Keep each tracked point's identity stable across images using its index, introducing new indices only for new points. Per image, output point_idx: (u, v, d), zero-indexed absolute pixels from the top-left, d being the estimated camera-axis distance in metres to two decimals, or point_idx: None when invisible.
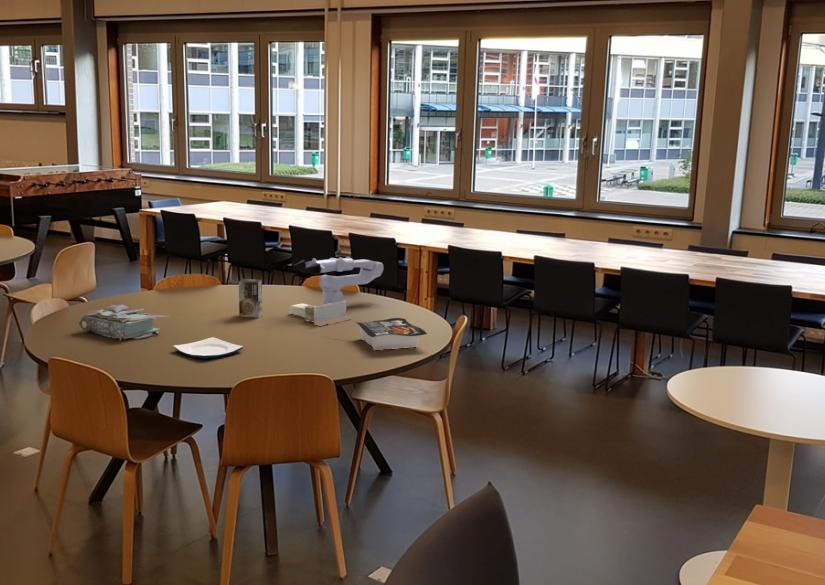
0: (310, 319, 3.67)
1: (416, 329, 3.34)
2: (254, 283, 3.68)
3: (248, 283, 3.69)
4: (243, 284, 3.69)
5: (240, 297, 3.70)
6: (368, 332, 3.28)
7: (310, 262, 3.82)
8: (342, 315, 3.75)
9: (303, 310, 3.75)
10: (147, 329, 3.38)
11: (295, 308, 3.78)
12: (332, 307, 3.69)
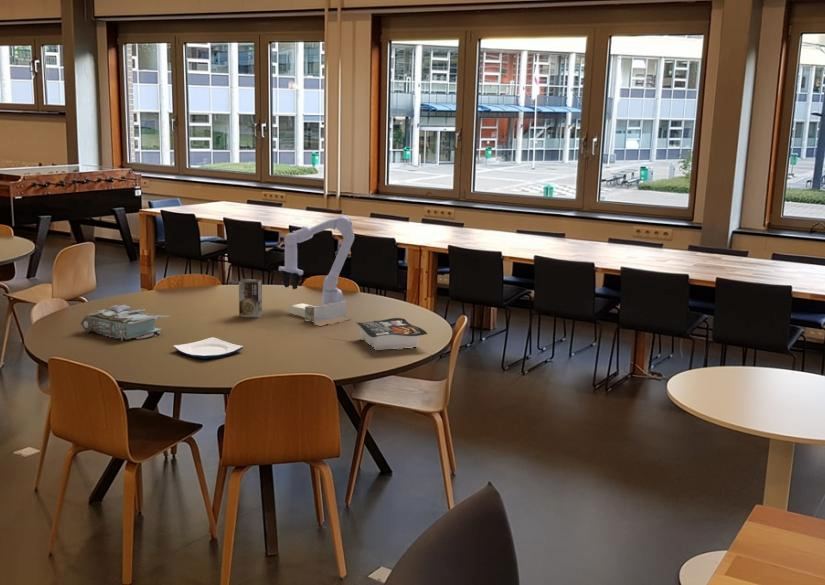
0: (310, 319, 3.67)
1: (416, 329, 3.34)
2: (254, 283, 3.68)
3: (248, 283, 3.69)
4: (243, 284, 3.69)
5: (240, 297, 3.70)
6: (368, 332, 3.28)
7: None
8: (342, 315, 3.75)
9: (303, 310, 3.75)
10: (149, 329, 3.38)
11: (295, 308, 3.78)
12: (332, 307, 3.69)
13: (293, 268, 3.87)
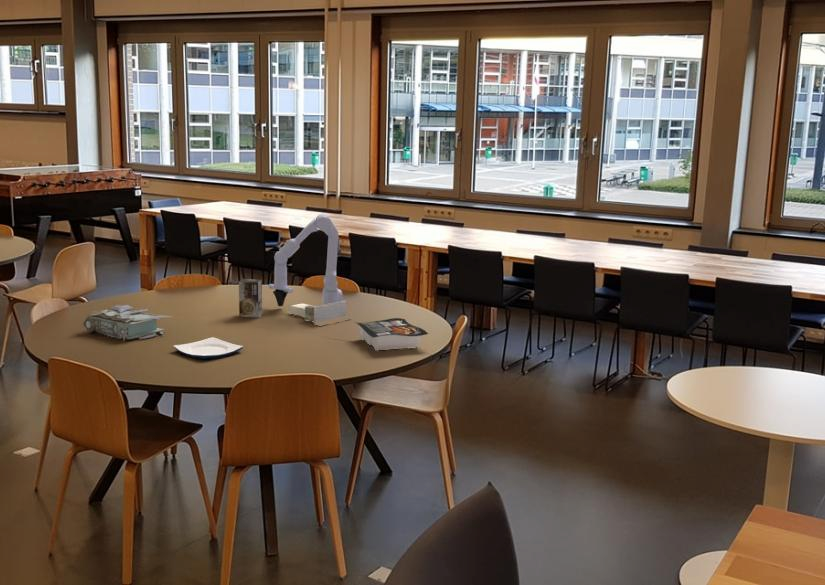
0: (310, 319, 3.67)
1: (417, 329, 3.34)
2: (254, 283, 3.68)
3: (248, 283, 3.69)
4: (243, 284, 3.69)
5: (240, 297, 3.70)
6: (369, 333, 3.28)
7: None
8: (342, 315, 3.75)
9: (303, 310, 3.75)
10: (151, 329, 3.38)
11: (295, 308, 3.78)
12: (332, 307, 3.69)
13: (283, 286, 3.86)
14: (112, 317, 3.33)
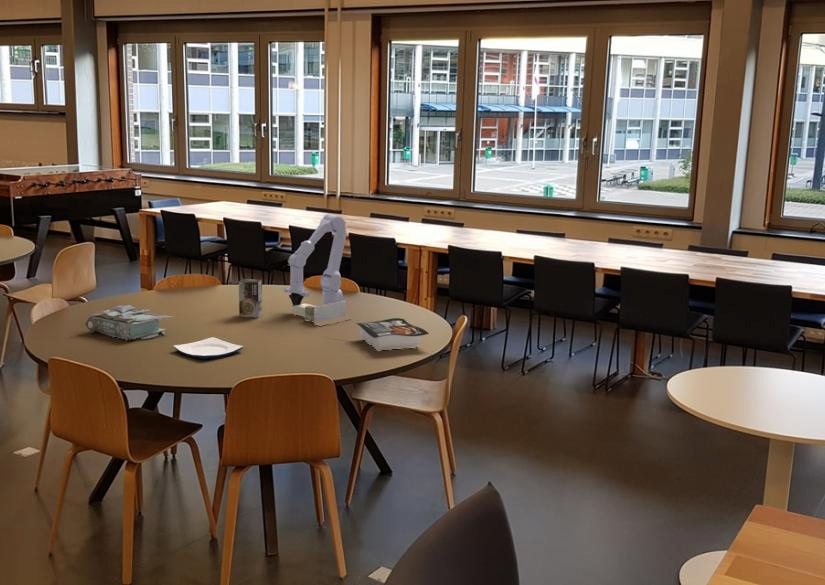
0: (310, 319, 3.67)
1: (417, 329, 3.34)
2: (254, 283, 3.68)
3: (248, 283, 3.69)
4: (243, 284, 3.69)
5: (240, 297, 3.70)
6: (370, 333, 3.27)
7: None
8: (342, 315, 3.75)
9: None
10: (153, 329, 3.38)
11: (298, 308, 3.77)
12: (332, 307, 3.69)
13: (299, 290, 3.79)
14: (114, 317, 3.33)
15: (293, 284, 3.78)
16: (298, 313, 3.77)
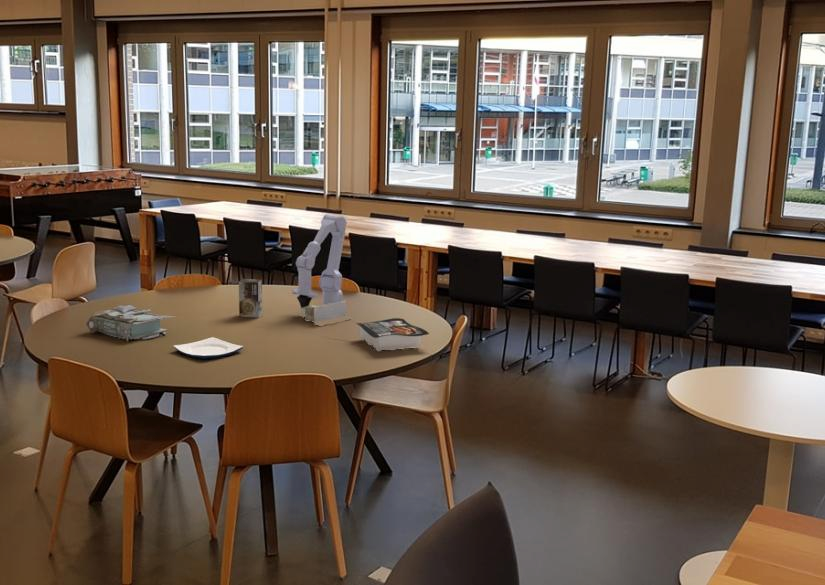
0: (310, 319, 3.67)
1: (417, 329, 3.34)
2: (254, 283, 3.68)
3: (248, 283, 3.69)
4: (243, 284, 3.69)
5: (240, 297, 3.70)
6: (370, 333, 3.27)
7: None
8: (342, 315, 3.75)
9: None
10: (154, 330, 3.38)
11: None
12: (332, 307, 3.69)
13: (307, 291, 3.76)
14: (115, 317, 3.33)
15: (301, 286, 3.75)
16: None
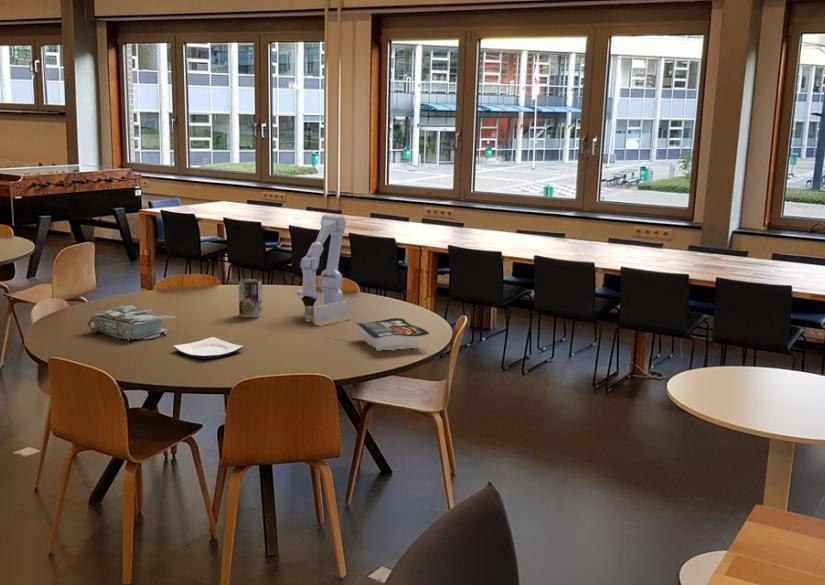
0: (310, 319, 3.67)
1: (418, 329, 3.34)
2: (254, 283, 3.68)
3: (248, 283, 3.69)
4: (243, 284, 3.69)
5: (240, 297, 3.70)
6: (370, 333, 3.27)
7: None
8: (342, 315, 3.75)
9: None
10: (155, 330, 3.38)
11: None
12: (332, 307, 3.69)
13: (311, 292, 3.74)
14: (116, 317, 3.33)
15: (306, 287, 3.73)
16: None
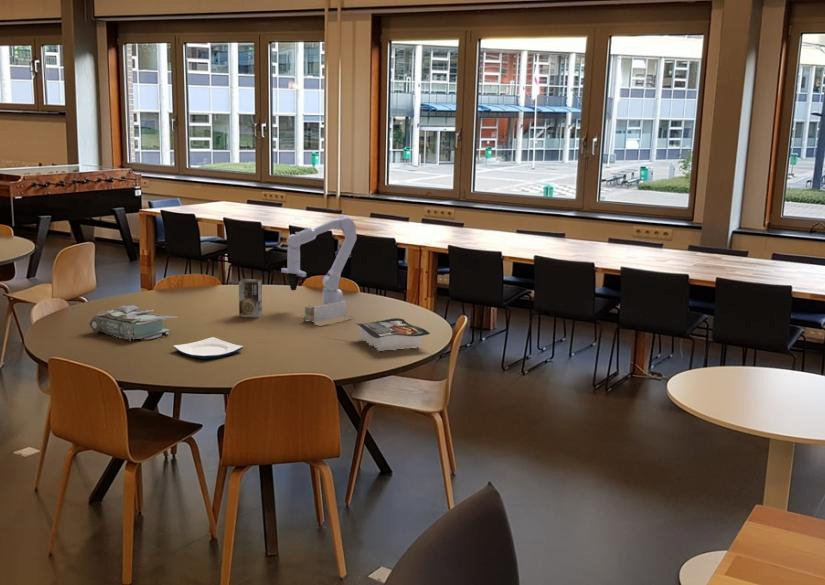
0: (310, 319, 3.67)
1: (418, 329, 3.34)
2: (254, 283, 3.68)
3: (248, 283, 3.69)
4: (243, 284, 3.69)
5: (240, 297, 3.70)
6: (371, 333, 3.27)
7: None
8: (342, 315, 3.75)
9: None
10: (157, 330, 3.37)
11: None
12: (332, 307, 3.69)
13: (296, 270, 3.83)
14: (118, 317, 3.33)
15: (290, 264, 3.82)
16: None
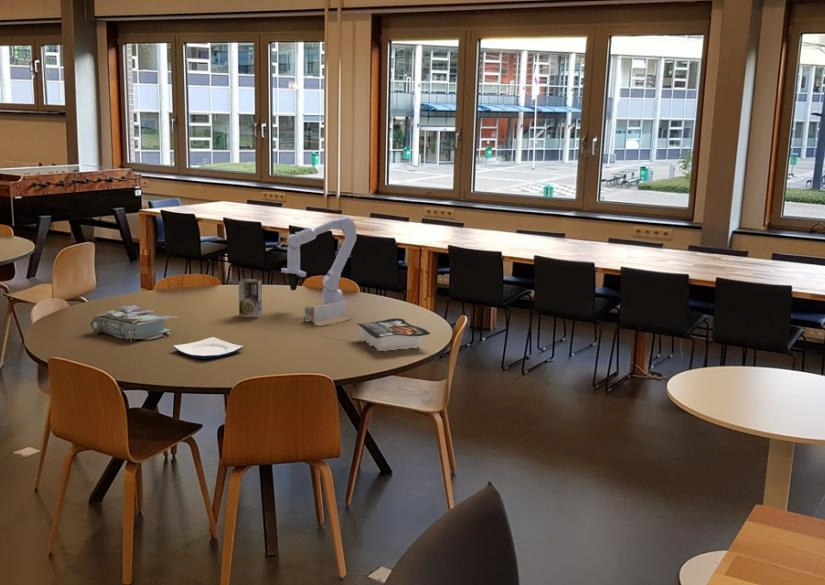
0: (310, 319, 3.67)
1: (418, 329, 3.34)
2: (254, 283, 3.68)
3: (248, 283, 3.69)
4: (243, 284, 3.69)
5: (240, 297, 3.70)
6: (371, 333, 3.27)
7: None
8: (342, 315, 3.75)
9: None
10: (158, 330, 3.37)
11: None
12: (332, 307, 3.69)
13: (296, 270, 3.83)
14: (119, 318, 3.32)
15: (290, 264, 3.82)
16: None
